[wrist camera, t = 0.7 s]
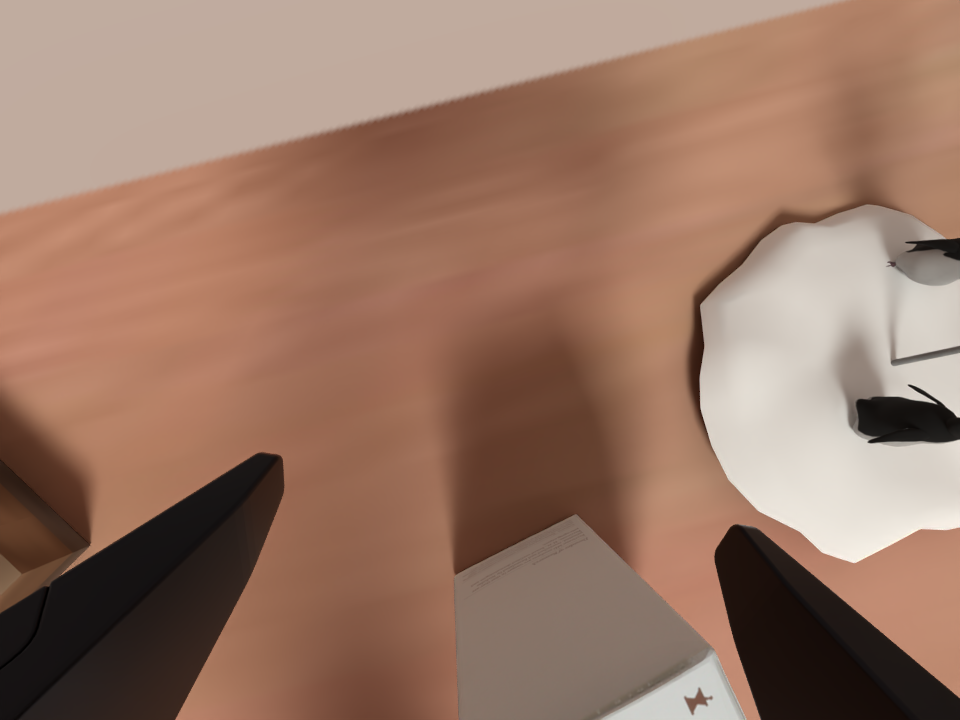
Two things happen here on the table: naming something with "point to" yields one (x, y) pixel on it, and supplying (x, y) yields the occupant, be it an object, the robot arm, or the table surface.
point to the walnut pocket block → (31, 541)
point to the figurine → (840, 379)
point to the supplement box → (578, 639)
